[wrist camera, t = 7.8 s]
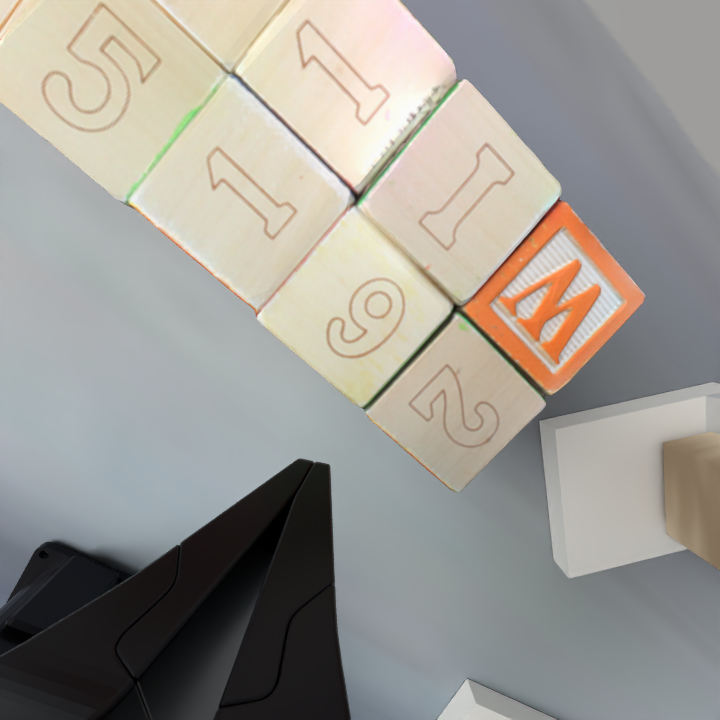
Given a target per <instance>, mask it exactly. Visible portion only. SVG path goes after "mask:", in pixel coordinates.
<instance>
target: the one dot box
mask: <svg viewBox="0 0 720 720" xmlns="http://www.w3.org/2000/svg"><path fill="white" fill-rule="evenodd" d="M437 720H557V719H555V718H553V717H550V716H548V715H546V714H544V713H542V712H539V711H537V710H535V709H533V708H531V707H528V706H526V705H524V704H522V703H520V702H517V701H515V700H513V699H511V698H509V697H506V696H504V695H502V694H500V693H498V692H495V691H493V690H491V689H489V688H486V687H484V686H482V685H480V684H478V683H475V682H473V681H471V680H469V679H466V681H465V682H464V683H463V685H462V686H461V687H460V689H459V690H458V692H457V693H456V694H455V696H454V697H453V698H452V700H451V701H450V702H449V704H448V705H447V706H446V708H445V709H444V710H443V712H442V713H441V715H440V716H439V717H438V719H437Z"/></svg>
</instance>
